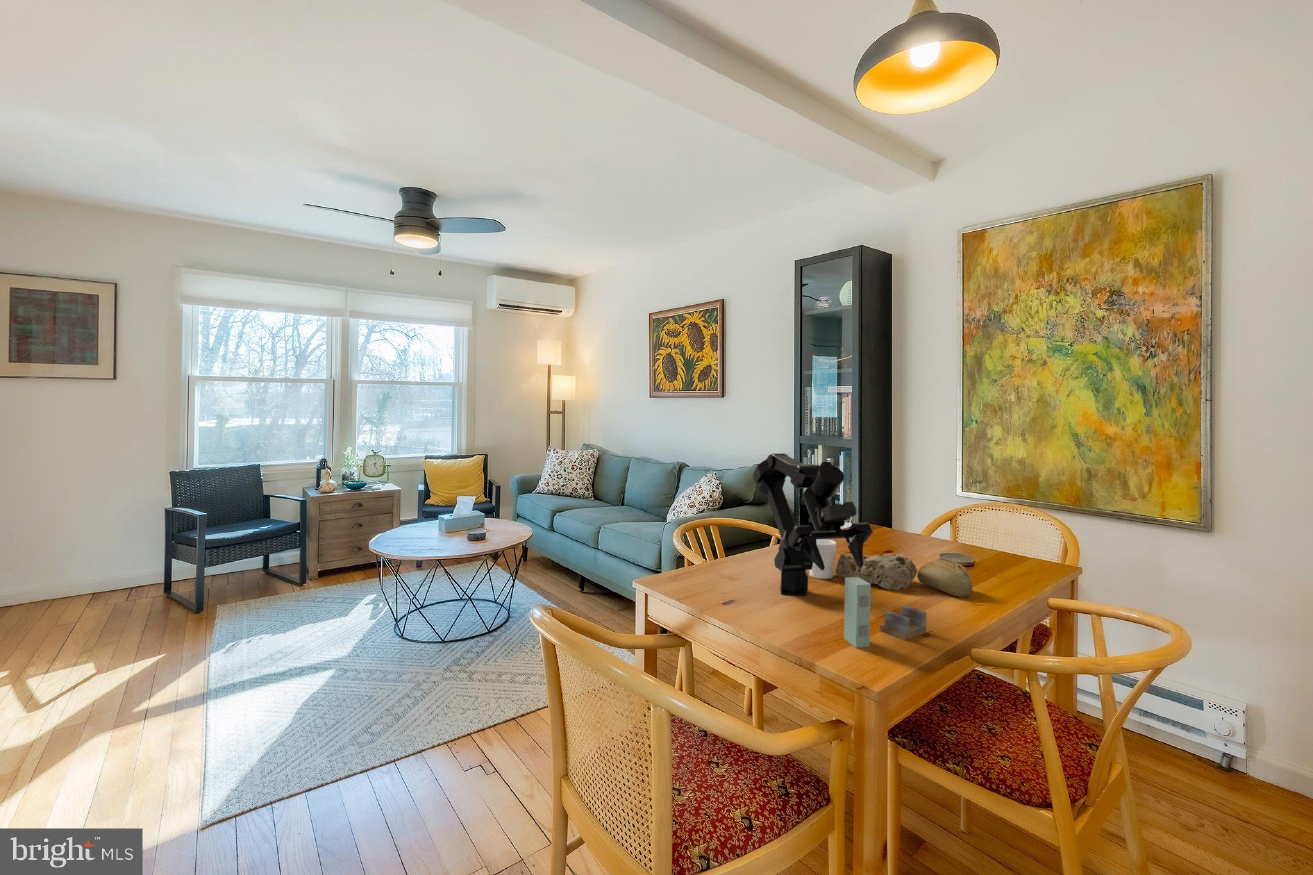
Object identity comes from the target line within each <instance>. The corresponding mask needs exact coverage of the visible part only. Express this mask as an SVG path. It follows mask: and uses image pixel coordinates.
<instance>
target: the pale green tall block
mask: <svg viewBox="0 0 1313 875" xmlns="http://www.w3.org/2000/svg"><path fill="white" fill-rule="evenodd" d="M871 586H872V585H871V584H869V583H868V582H866V581H864V580H863V579H861V578H859V577H850V578H844V610H843V611H844V617H843V619H844V621H843V639H844V640H845V641H847V642H848V643H850V645H852V646H853V647H855V648H857V649H858V648H859V649H860V648H869V647H870V646H871V645H870V644H871V643H870V642H871V641H870V639H871V633H870V632H871V592H872V590H871V589H872V587H871Z"/></svg>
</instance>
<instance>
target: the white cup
mask: <svg viewBox="0 0 1313 875" xmlns="http://www.w3.org/2000/svg"><path fill="white" fill-rule="evenodd" d="M816 543H817V547H818V550H819V552H820V555H821V557H822V560H823V563H824V567H825V569H824V570H821V569H820V568H819V567H818V566H817V565H816V564H815V563H814V562H813V566H812V570H809V569H808V574H809V576H810V577H812V578H814V579H820V580H821V579H822V580H825V579H826V580H828V579H832V578H833V577H834V576H835V575H834V574H835V572H834V571H835V569H834V568H835V564H836V562H835V561H836V550H837V542H836V540H835V541H834V539H816Z"/></svg>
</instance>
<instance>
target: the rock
mask: <svg viewBox="0 0 1313 875" xmlns="http://www.w3.org/2000/svg"><path fill="white" fill-rule="evenodd" d="M917 574H918V568H916V564H914V562H913V559H911V558H909V557H907V556H905V555H904V554H903V553H895V554H891V553H885V554H875V555H866V554H863V567H862V568H859V566H858V565H857V563H856V562H855V560H854V558H853V556H852V554H843V553H842V554H840V556H839V558H838V561H837V564H836V567H835V575H836V576H839V577H838V578H843V579H845V578H850V577H859V578H861V579H863V580H864V581H866V582H868V583H869V584H872V585H878V586H879V587H881V588H883V589H885V590H890V591H892V590H893V591H906V590H907V589H909V587H910V586H911V582H912V580H914V579H915V578H916V577H917V576H916V575H917Z"/></svg>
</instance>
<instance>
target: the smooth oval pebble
mask: <svg viewBox="0 0 1313 875" xmlns="http://www.w3.org/2000/svg"><path fill="white" fill-rule="evenodd" d="M916 575H917V576H916V578H917V579H918V581H919V582H920V583H921V584H923V585H926V586H928V587H931V588H933V589H936V590H938V591H942V592H943V593H946V594H949V595H952V596H953V597H958V598H966V597H968V596H970V595H971V593H972V591H973V582H972V578H971V576H970V574H969V571H968V570H967V569H966V567H964V566H963V565H962V564H960V563H959V562H956V561H955V560H954V561H953V560H949V559H944V558H941V559H936V560H935V559H934V560H931V561H927V562H926V563H924V564H923V565H922V566H919V568H918V569H917V573H916Z"/></svg>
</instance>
